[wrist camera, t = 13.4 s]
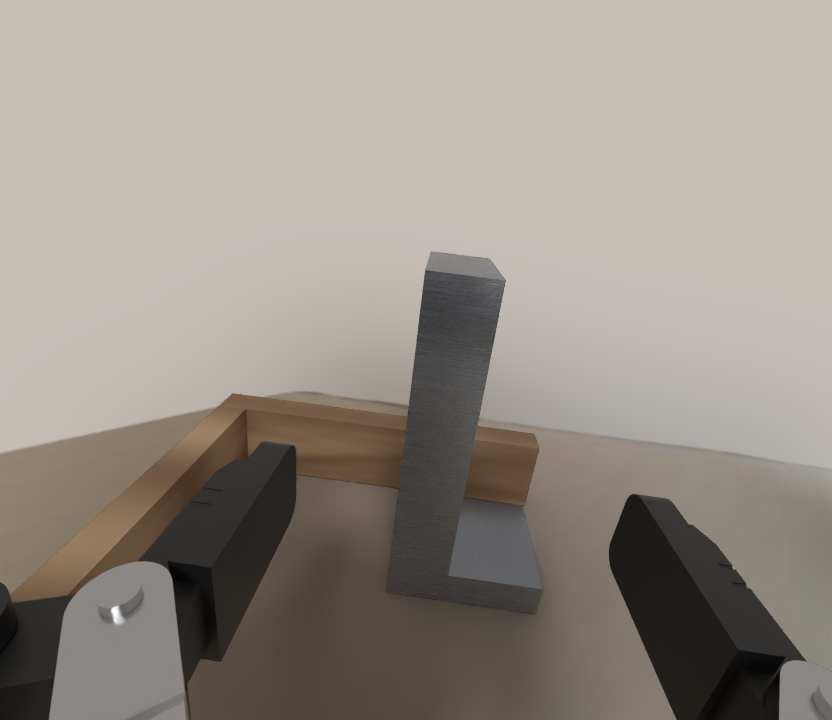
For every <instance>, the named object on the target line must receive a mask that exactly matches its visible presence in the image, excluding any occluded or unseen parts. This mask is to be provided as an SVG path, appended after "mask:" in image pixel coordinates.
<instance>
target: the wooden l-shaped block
mask: <svg viewBox="0 0 832 720" xmlns="http://www.w3.org/2000/svg"><path fill="white" fill-rule="evenodd" d="M406 425H407V417H405V416H397V415H390V414H382V413H375V412H368V411H360V410H353V409H345V408H338V407H330V406H323V405H315V404H308V403H300V402H293V401H285V400H278V399H271V398H263V397H256V396H247V395H241V394H231V395H230V396H229V397H228V398H227V399H226V400H225V401H224V402H223V403H221V404H220V405H219V406H218V407H217V408H216V409H215V410H214V411H213V412H212V413H210V414H209V415H208V416H207V417H206V418H205V419H204V420H203V421H202V422H201V423H199V424H198V425H197V426H196V427H195V428H194V429H193V430H192V431H191V432H189V433H188V434H187V435H186V436H185V437H184V438H183V439H182V440H181V441H180V442H178V443H177V444H176V445H175V446H174V447H173V448H172V449H171V450H170V451H169V452H167V453H166V454H165V455H164V456H163V457H162V458H161V459H160V460H159V461H157V462H156V463H155V464H154V465H153V466H152V467H151V468H150V469H149V470H148V471H146V472H145V473H144V474H143V475H142V476H141V477H140V478H139V479H138V480H137V481H135V482H134V483H133V484H132V485H131V486H130V487H129V488H128V489H127V490H125V491H124V492H123V493H122V494H121V495H120V496H119V497H118V498H117V499H116V500H114V501H113V502H112V503H111V504H110V505H109V506H108V507H107V508H106V509H105V510H103V511H102V512H101V513H100V514H99V515H98V516H97V517H96V518H95V519H93V520H92V521H91V522H90V523H89V524H88V525H87V526H86V527H85V528H84V529H82V530H81V531H80V532H79V533H78V534H77V535H76V536H75V537H74V538H73V539H71V540H70V541H69V542H68V543H67V544H66V545H65V546H64V547H63V548H61V549H60V550H59V551H58V552H57V553H56V554H55V555H54V556H53V557H52V558H50V559H49V560H48V561H47V562H46V563H45V564H44V565H43V566H42V567H41V568H39V569H38V570H37V571H36V572H35V573H34V574H33V575H32V576H31V577H29V578H28V579H27V580H26V581H25V582H24V583H23V584H22V585H21V586H20V587H18V588H17V589H16V590H15V591H14V592H13V593H12V594H11V595H10V597H11V600H12V603H15V602H23V601H30V600H37V599H44V598H52V597H59V596H66V595H72V594H76V593H77V592H78V591H79V590H80V589H81V588H82V587H84V586H85V585H86V584H87V583H88V582H90V581H91V580H92V579H94V578H95V577H97V576H99V575H100V574H102V573H104V572H106V571H108V570H110V569H112V568H115V567H117V566H120V565H124V564H127V563H132V562H137V561H138V560H139V559H140V558H141V556H142V555H143V554H144V553H145V552H146V551H147V550H148V548H149V547H150V546H151V545H152V544H153V543H154V541H155V540H156V539H157V538H158V537H159V536H160V535H161V533H162V532H163V531H164V530H165V529H166V528H167V527H168V525H169V524H170V523H171V522H172V521H173V520H174V518H175V517H176V516H177V515H178V514H179V513H180V512H181V510H182V509H183V508H184V507H185V506H186V505H187V504H188V505H189V503H190V500H191V499H192V498H193V497H194V495H195V494H196V493H197V492H198V491H199V490H200V491H201V489H202V486H203V485H204V484H205V483H206V482H207V480H208V479H209V478H210V477H211V476H212V475H213V474H214V472H215V471H217V470H218V469H220V468H222V467H223V466H225V465H227V464H228V463H230V462H232V461H233V460H235V459H241V460H247V459H248V458H249V457H250V455H251V454H252V453H253V451H254V450H255V449H256V448H257V446H258V445H259V444H260V443H261V442H262V441H268V442H275V443H282V444H289V445H294V446H295V448H296V474H299V475H306V476H313V477H321V478H328V479H335V480H342V481H350V482H357V483H364V484H371V485H379V486H386V487H393V488H399V483H400V475H401V467H402V459H403V450H404V442H405V434H406ZM538 452H539V446H538V443H537V440H536V438H535V435H534V434H532V433H524V432H517V431H509V430H502V429H494V428H487V427H479V426H477V430H476V435H475V440H474V446H473V451H472V456H471V461H470V466H469V471H468V476H467V481H466V487H465V492H464V497H466V498H473V499H480V500H487V501H495V502H502V503H509V504H517V505H525V501H526V497H527V493H528V489H529V486H530V482H531V478H532V474H533V471H534V467H535V463H536V459H537V456H538Z"/></svg>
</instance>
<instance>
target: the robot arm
mask: <svg viewBox="0 0 832 720" xmlns="http://www.w3.org/2000/svg"><path fill="white" fill-rule="evenodd" d="M295 503H296V448H295V446H294V445H289V444H282V443H275V442H268V441H262V442H261V443H260V444H259V445H258V446H257V448H256V449H255V450H254V451H253V453H252V454H251V455H250V457H249V458H248V459H247V460H241V459H235V460H233V461H232V462H230V463H228V464H227V465H225V466H223V467H222V468H220V469H218V470H217V471H215V472H214V474H213V475H212V476H211V477H210V478H209V479H208V480H207V482H206V483H205V484H204V485H203V486H202V489H201V491H200V490H199V491H198V492H197V493H196V494H195V495H194V497H193V498H192V499H191V500H190V503H189V505H188V504H187V505H186V506H185V507H184V508H183V509H182V510H181V512H180V513H179V514H178V515H177V516H176V517H175V518H174V520H173V521H172V522H171V523H170V524H169V525H168V527H167V528H166V529H165V530H164V531H163V532H162V533H161V535H160V536H159V537H158V538H157V539H156V540H155V541H154V543H153V544H152V545H151V546H150V547H149V548H148V550H147V551H146V552H145V553H144V554H143V555H142V556H141V558H140V559H139V560H138V561H137V562H132V563H127V564H124V565H120V566H117V567H115V568H112V569H110V570H108V571H106V572H104V573H102V574H100V575H99V576H97V577H95V578H94V579H92V580H91V581H90V582H88V583H87V584H86V585H85V586H84V587H82V588H81V589H80V590H79V591H78V592H77V593H76V594H72V595H66V596H59V597H52V598H44V599H37V600H30V601H23V602H15V603H12V600H11V597H10V594H9V591H8V589H7V587H6V586H5V585H4V584H2V583H0V720H192V714H191V706H190V697H189V688H188V681H189V680H190V678H191V676H192V674H193V672H194V670H195V669H196V667H197V665H198V663H199V661H200V659H206V660H212V661H218V662H221V660H222V658H223V656H224V654H225V652H226V650H227V648H228V646H229V644H230V642H231V640H232V638H233V636H234V634H235V632H236V630H237V628H238V626H239V624H240V622H241V620H242V618H243V616H244V614H245V612H246V610H247V608H248V606H249V604H250V602H251V600H252V598H253V596H254V594H255V592H256V590H257V588H258V586H259V584H260V582H261V580H262V578H263V576H264V574H265V572H266V570H267V568H268V566H269V564H270V562H271V560H272V558H273V556H274V554H275V552H276V550H277V548H278V546H279V544H280V542H281V540H282V538H283V536H284V534H285V532H286V530H287V528H288V526H289V523H290V521H291V519H292V516H293V512H294V508H295ZM609 561H610V567H611V570H612V573H613V575H614V578H615V580H616V582H617V584H618V587H619V589H620V591H621V594H622V596H623V598H624V600H625V603H626V605H627V607H628V610H629V612H630V614H631V617H632V619H633V621H634V623H635V626H636V628H637V630H638V633H639V635H640V637H641V639H642V642H643V644H644V646H645V649H646V651H647V653H648V655H649V658H650V660H651V662H652V665H653V667H654V669H655V671H656V674H657V676H658V678H659V681H660V683H661V685H662V687H663V690H664V692H665V694H666V697H667V699H668V701H669V704H670V706H671V708H672V710H673V713H674V715H675V717H676V720H832V672H831V671H829V670H827V669H825V668H823V667H821V666H818V665H816V664H812V663H809V662H807V661H806V660H805V659H804V658H803V656H802V655H801V654H800V652H799V651H798V650H797V648H796V647H795V646H794V645H793V643H792V642H791V641H790V639H789V638H788V637H787V636H786V634H785V633H784V632H783V630H782V629H781V628H780V627H779V625H778V624H777V623H776V621H775V620H774V619H773V617H772V616H771V615H770V614H769V612H768V611H767V610H766V608H765V607H764V606H763V605H762V603H761V602H760V601H759V599H758V598H757V597H756V596H755V594H754V593H753V592H752V590H751V589H749V588H747V587H746V583H745V581H744V580H743V579H742V577H741V576H740V575H739V574H738V572H737V571H736V570H733V569H732V565H731V563H730V562H729V561H728V559H727V558H726V557H725V555H724V554H723V553H722V552H721V550H720V549H719V548H718V546H717V545H716V544H715V543H714V542H712V541H711V540H710V539H709V538H708V537H706V536H705V535H704V534H703V533H702V532H700V531H699V530H698V529H697V528H696V527H694V526H693V525H689V524H688V523H687V522H686V520H685V519H684V518H683V516H682V515H681V514H680V512H679V511H678V510H677V508H676V507H675V505H674V504H673V503H672V502H671V501H670V500H668V499H665V498H658V497H651V496H644V495H637V494H632V495H630V496H629V497H628V499H627V501H626V503H625V506H624V508H623V511H622V514H621V516H620V519H619V521H618V524H617V527H616V529H615V532H614V535H613V537H612V540H611V543H610V547H609Z"/></svg>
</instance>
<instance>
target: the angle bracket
mask: <svg viewBox="0 0 832 720" xmlns="http://www.w3.org/2000/svg"><path fill="white" fill-rule="evenodd" d="M505 281H506V280H505V279H504V277H503V276H502V275H501V273H500V272H499V270H498V269H497V268H496V266H495V265H494V264H493V262H492V261H491V260H490V259H488V258H480V257H471V256H464V255H456V254H448V253H440V252H431V253H430V257H429V260H428V263H427V266H426V270H425V277H424V285H423V294H422V301H421V309H420V318H419V326H418V334H417V343H416V351H415V359H414V368H413V376H412V385H411V392H410V401H409V409H408V417H407V425H406V434H405V442H404V450H403V459H402V467H401V475H400V483H399V492H398V500H397V508H396V517H395V525H394V533H393V541H392V550H391V558H390V566H389V575H388V583H387V591H386V592H388V593H394V594H401V595H408V596H415V597H422V598H429V599H435V600H442V601H449V602H456V603H463V604H470V605H476V606H483V607H490V608H497V609H504V610H510V611H517V612H524V613H531V614H535V613H536V610H537V607H538V604H539V600H540V597H541V594H542V591H543V587H542V583H541V579H540V575H539V571H538V567H537V563H536V559H535V555H534V551H533V547H532V542H531V538H530V534H529V530H528V526H527V522H526V518H525V514H524V510H523V506H517V505H510V504H503V503H496V502H489V501H482V500H475V499H468V498H463V497H464V492H465V487H466V481H467V476H468V471H469V466H470V461H471V456H472V451H473V446H474V440H475V435H476V430H477V425H478V420H479V415H480V409H481V404H482V399H483V394H484V389H485V383H486V379H487V374H488V368H489V363H490V358H491V353H492V348H493V343H494V338H495V333H496V328H497V322H498V317H499V312H500V307H501V302H502V296H503V292H504V286H505Z"/></svg>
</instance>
